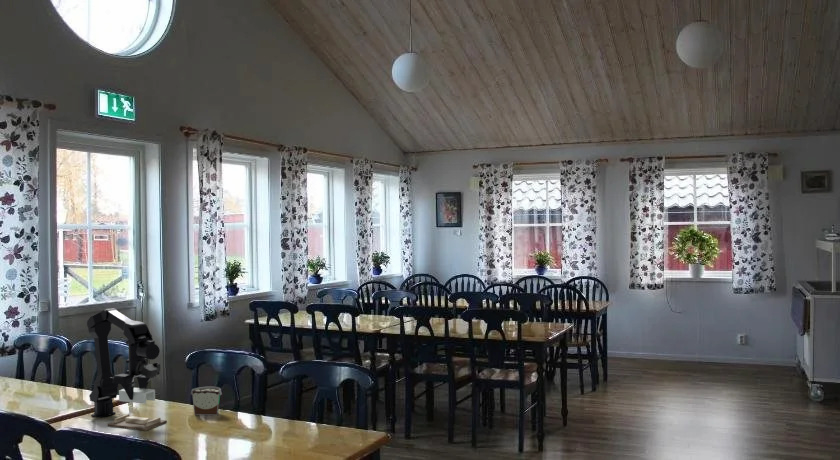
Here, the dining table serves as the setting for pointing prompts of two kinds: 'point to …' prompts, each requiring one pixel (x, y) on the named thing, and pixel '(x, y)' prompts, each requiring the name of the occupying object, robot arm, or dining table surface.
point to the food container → (206, 400)
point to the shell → (138, 395)
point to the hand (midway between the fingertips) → (137, 397)
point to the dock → (135, 426)
